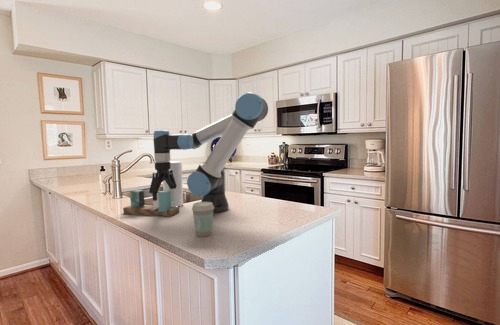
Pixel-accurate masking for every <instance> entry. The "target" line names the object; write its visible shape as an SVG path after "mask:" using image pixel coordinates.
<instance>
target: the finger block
mask: <svg viewBox="0 0 500 325" xmlns="http://www.w3.org/2000/svg"><path fill="white" fill-rule="evenodd" d="M158 193H159V207H158V212H167V210H168V209H171V191H163V190H158Z"/></svg>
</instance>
